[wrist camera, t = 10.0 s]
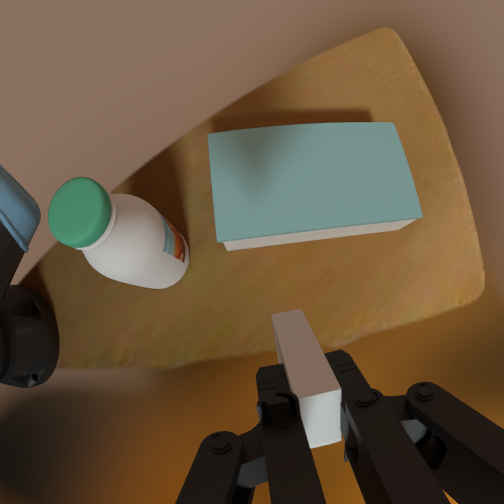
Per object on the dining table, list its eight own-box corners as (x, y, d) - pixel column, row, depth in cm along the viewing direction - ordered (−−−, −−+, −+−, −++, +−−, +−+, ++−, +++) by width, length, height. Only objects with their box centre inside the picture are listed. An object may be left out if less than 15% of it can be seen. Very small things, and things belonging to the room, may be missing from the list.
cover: (218, 242, 32) (217, 241, 31) (208, 137, 34) (207, 134, 33) (419, 218, 32) (422, 216, 31) (391, 125, 34) (393, 122, 33)
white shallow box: (227, 251, 37) (223, 242, 32) (217, 160, 39) (213, 141, 34) (398, 229, 37) (415, 219, 32) (376, 147, 39) (389, 129, 34)
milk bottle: (188, 291, 36) (116, 272, 16) (129, 287, 36) (22, 265, 16) (192, 227, 37) (134, 148, 18) (134, 226, 37) (42, 159, 18)
